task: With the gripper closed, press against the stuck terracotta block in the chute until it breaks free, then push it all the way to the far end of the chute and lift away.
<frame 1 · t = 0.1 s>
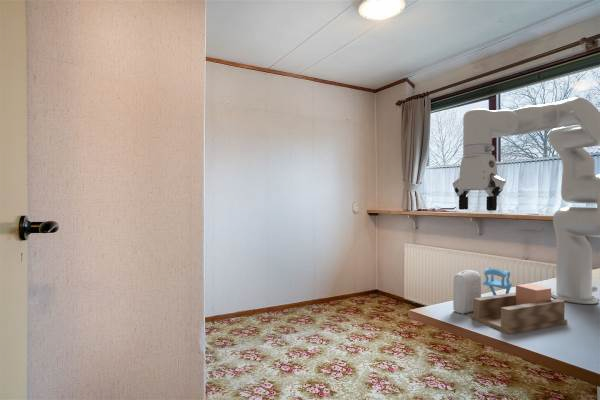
hand: (476, 209, 99), 31 cm above the table, tool pointing down, fingers open, 9 cm apart
photo printer: (467, 310, 103), on the table
chair: (497, 304, 109), on the table
chute: (518, 320, 94), on the table
block: (533, 300, 96), point 5 cm above the table, slide at 0.0 cm
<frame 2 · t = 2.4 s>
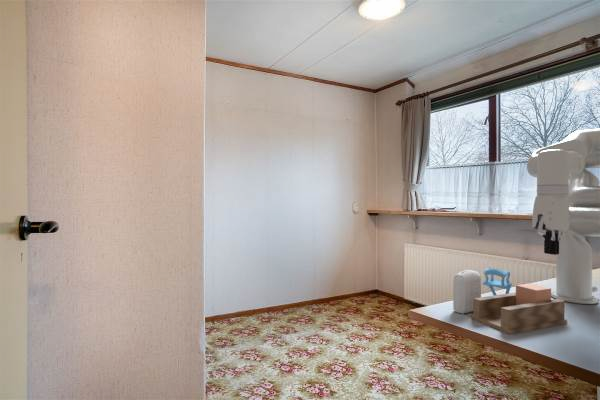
hand: (551, 253, 99), 18 cm above the table, tool pointing down, fingers closed
nothing on the table moved.
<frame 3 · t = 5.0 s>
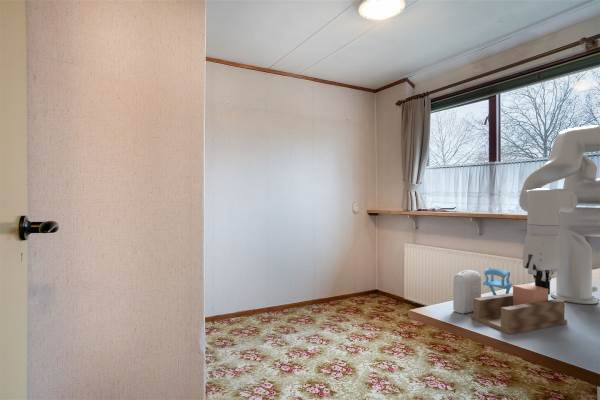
hand: (542, 293, 97), 7 cm above the table, tool pointing down, fingers closed
block: (530, 301, 96), point 5 cm above the table, slide at 1.2 cm, touching gripper
everything else where it was.
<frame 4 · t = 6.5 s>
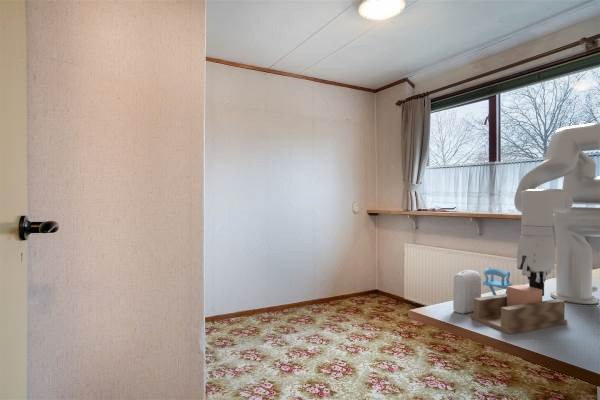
hand: (536, 294, 97), 7 cm above the table, tool pointing down, fingers closed
block: (524, 301, 95), point 5 cm above the table, slide at 3.6 cm, touching gripper
everything else where it was.
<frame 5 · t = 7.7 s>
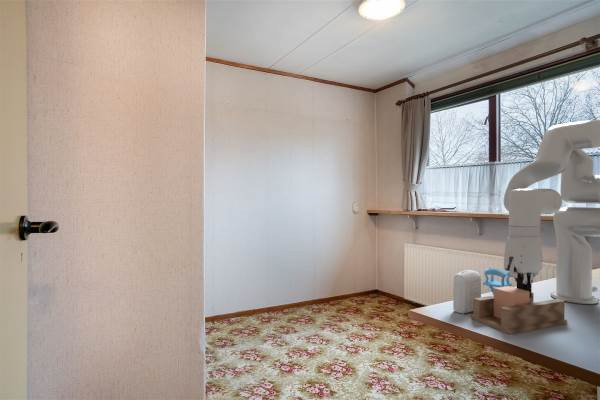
hand: (523, 296, 95), 7 cm above the table, tool pointing down, fingers closed
block: (511, 303, 93), point 5 cm above the table, slide at 8.9 cm, touching gripper
everything else where it was.
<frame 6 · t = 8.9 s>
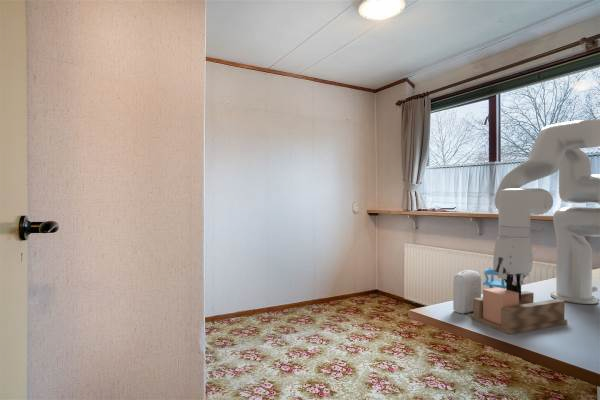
hand: (513, 298, 93), 7 cm above the table, tool pointing down, fingers closed
block: (500, 305, 92), point 5 cm above the table, slide at 13.0 cm, touching gripper
everything else where it was.
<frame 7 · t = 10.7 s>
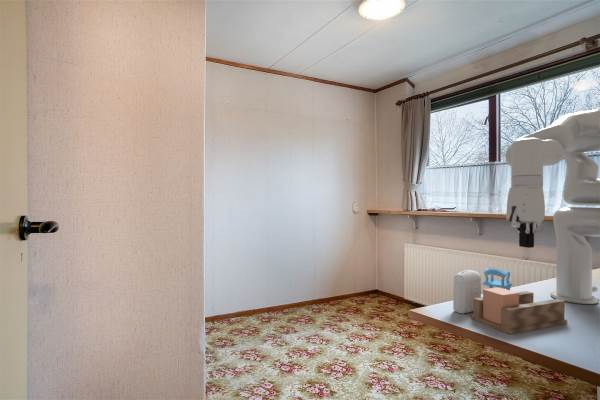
hand: (526, 246, 95), 21 cm above the table, tool pointing down, fingers closed
block: (500, 305, 92), point 5 cm above the table, slide at 13.0 cm
everything else where it was.
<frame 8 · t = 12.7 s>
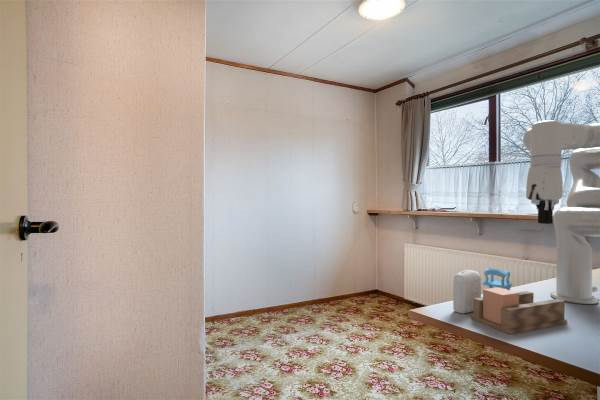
hand: (545, 223, 101), 27 cm above the table, tool pointing down, fingers closed
nothing on the table moved.
at the end: block slide at 13.0 cm; photo printer moved 0.3 cm from its start; chair moved 0.2 cm from its start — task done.
